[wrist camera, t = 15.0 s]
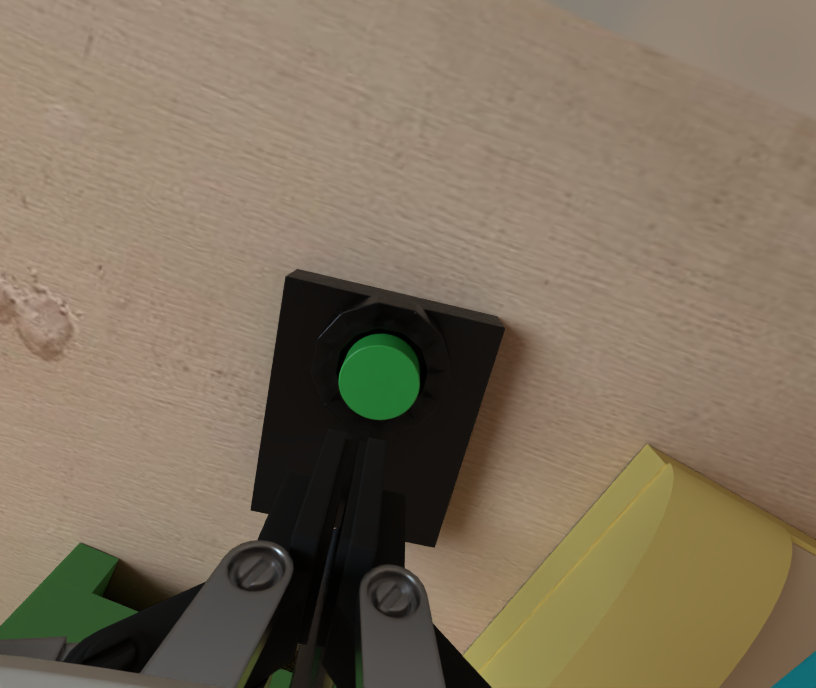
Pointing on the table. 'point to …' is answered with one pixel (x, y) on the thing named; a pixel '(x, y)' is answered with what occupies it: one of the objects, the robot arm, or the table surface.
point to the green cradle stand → (78, 604)
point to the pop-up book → (662, 594)
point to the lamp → (314, 639)
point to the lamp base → (326, 409)
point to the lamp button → (380, 377)
